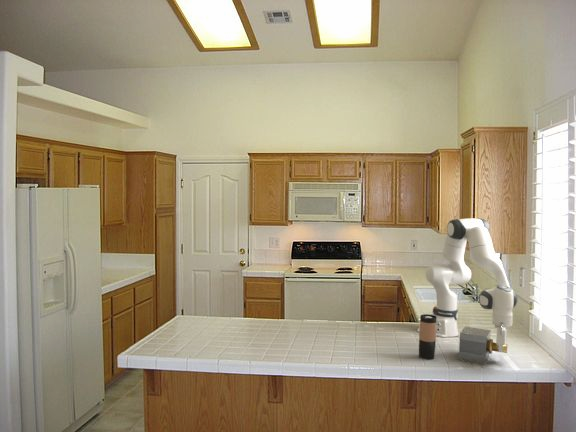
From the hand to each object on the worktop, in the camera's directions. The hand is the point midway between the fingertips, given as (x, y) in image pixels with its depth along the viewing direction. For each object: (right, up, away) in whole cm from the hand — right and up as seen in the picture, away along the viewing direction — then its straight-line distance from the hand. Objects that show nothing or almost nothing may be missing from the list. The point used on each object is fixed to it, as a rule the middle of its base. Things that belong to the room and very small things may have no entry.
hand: (500, 349), depth 250 cm
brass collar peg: (-4, -2, +2) cm, 6 cm away
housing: (-10, -6, +6) cm, 13 cm away
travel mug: (-34, -5, +5) cm, 34 cm away
